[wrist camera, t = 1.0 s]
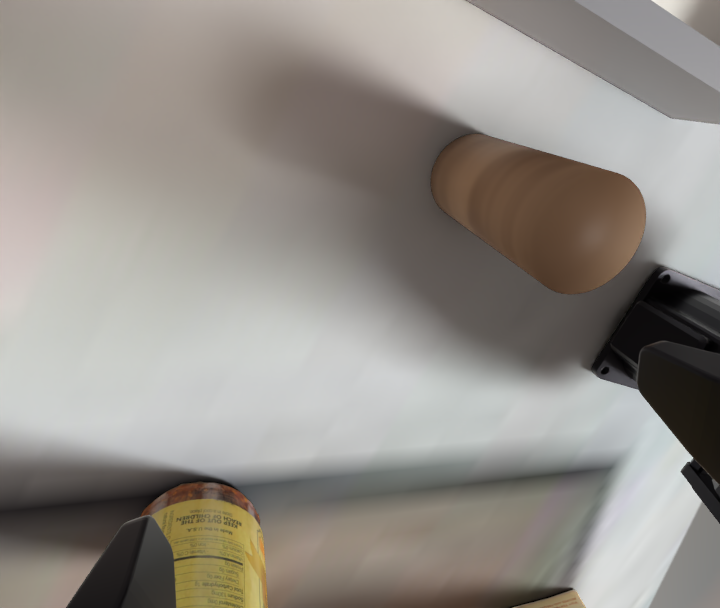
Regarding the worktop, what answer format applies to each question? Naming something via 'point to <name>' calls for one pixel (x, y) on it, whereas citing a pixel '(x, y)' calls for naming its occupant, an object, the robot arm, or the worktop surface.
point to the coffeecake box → (557, 601)
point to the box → (633, 46)
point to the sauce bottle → (213, 546)
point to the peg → (541, 210)
